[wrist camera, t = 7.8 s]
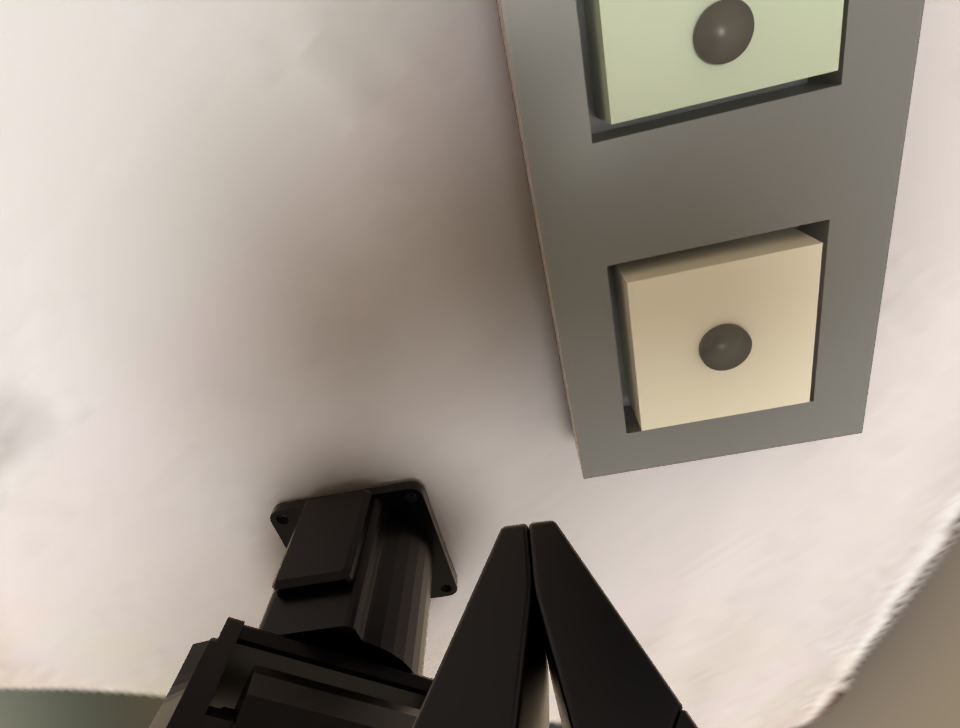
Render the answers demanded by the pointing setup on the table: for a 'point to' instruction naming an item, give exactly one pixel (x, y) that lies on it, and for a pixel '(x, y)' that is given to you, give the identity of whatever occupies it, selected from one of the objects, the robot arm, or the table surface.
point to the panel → (711, 214)
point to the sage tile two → (703, 50)
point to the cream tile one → (719, 327)
